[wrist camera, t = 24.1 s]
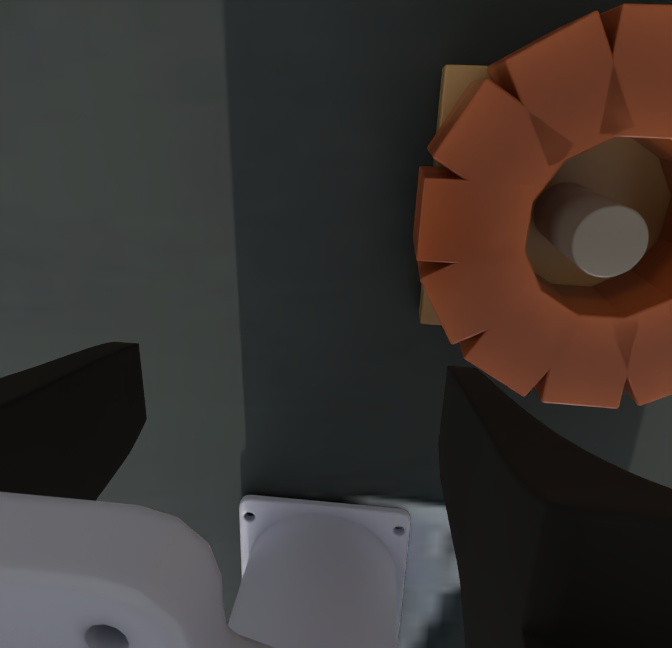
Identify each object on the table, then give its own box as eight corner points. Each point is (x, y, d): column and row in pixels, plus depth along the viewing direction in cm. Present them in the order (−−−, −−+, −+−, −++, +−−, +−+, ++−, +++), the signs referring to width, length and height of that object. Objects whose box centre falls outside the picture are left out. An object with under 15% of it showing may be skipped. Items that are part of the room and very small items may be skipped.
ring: (712, 376, 21) (765, 422, 18) (401, 352, 22) (402, 392, 19) (827, 28, 17) (922, 11, 14) (433, 14, 17) (441, -3, 14)
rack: (652, 328, 22) (735, 401, 16) (418, 313, 22) (426, 379, 17) (719, 75, 18) (851, 64, 13) (442, 66, 19) (460, 52, 14)
